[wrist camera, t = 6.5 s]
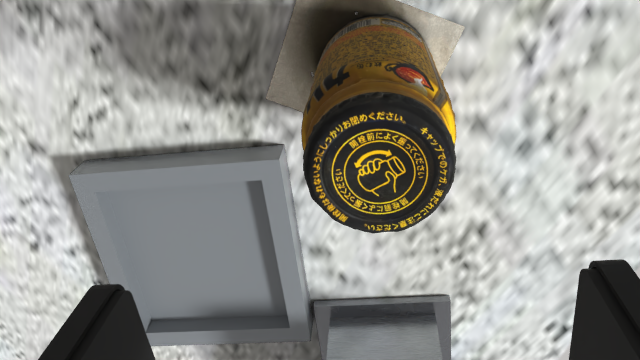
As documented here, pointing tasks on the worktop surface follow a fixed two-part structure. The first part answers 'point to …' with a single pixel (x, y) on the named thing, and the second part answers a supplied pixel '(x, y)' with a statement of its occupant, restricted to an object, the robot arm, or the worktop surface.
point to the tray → (201, 243)
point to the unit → (385, 328)
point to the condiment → (371, 108)
